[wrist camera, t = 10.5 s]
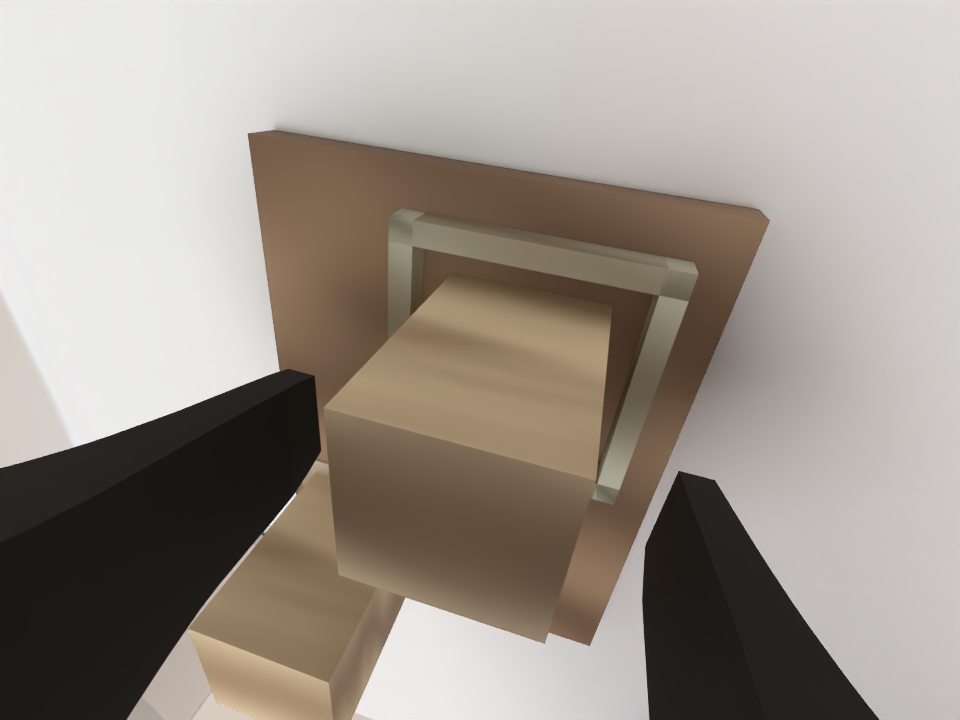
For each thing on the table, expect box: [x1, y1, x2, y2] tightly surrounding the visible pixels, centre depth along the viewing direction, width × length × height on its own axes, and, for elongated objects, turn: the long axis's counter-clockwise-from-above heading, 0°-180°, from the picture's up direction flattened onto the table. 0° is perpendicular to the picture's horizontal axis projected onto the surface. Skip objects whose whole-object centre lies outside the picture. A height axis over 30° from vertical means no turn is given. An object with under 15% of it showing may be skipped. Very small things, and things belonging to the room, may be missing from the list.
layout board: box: [188, 130, 770, 720], centre depth 13 cm, size 16×12×7 cm
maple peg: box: [323, 273, 612, 644], centre depth 10 cm, size 4×4×6 cm
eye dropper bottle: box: [127, 534, 263, 720], centre depth 18 cm, size 4×6×12 cm
